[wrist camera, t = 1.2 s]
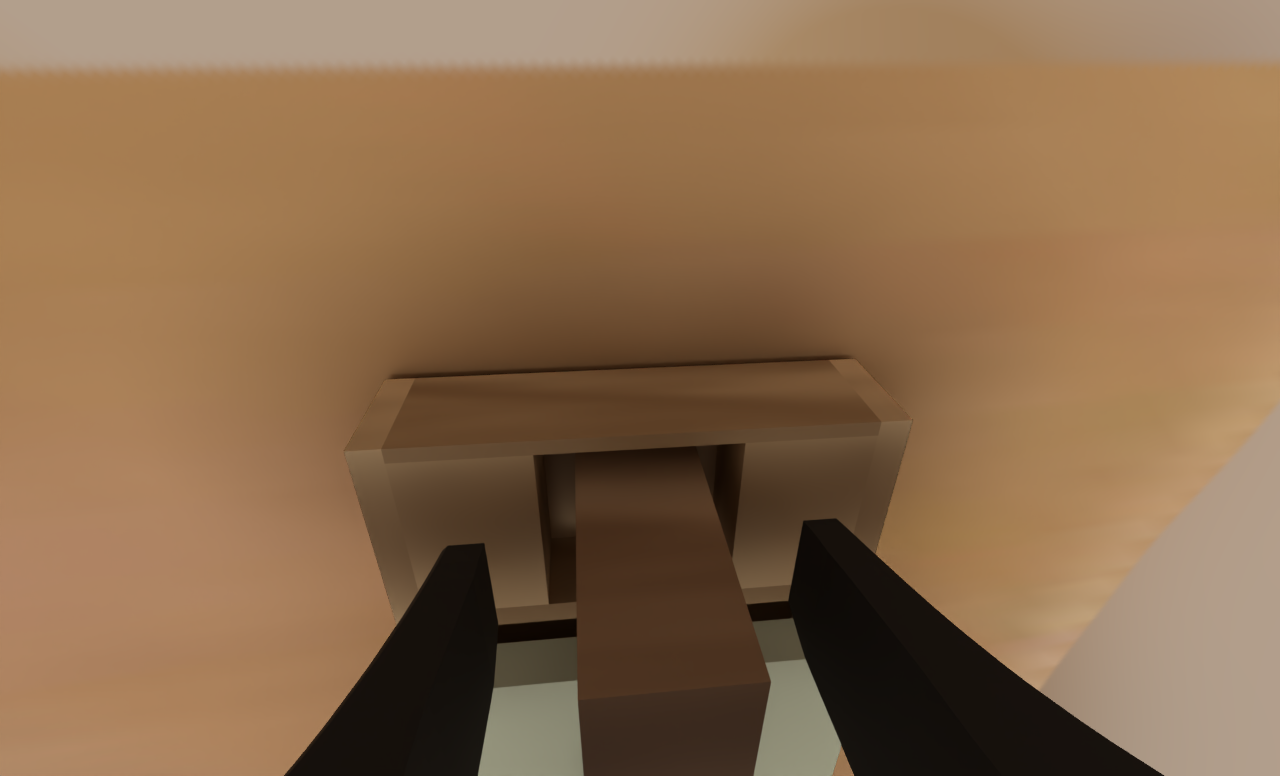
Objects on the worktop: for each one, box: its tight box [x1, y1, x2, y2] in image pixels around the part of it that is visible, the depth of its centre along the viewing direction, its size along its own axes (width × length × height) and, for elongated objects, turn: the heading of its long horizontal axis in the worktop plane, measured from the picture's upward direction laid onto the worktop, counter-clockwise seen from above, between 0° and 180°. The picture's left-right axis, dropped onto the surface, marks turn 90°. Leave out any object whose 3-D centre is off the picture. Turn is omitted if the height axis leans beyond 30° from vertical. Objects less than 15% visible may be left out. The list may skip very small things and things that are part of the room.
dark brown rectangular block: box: [575, 446, 771, 776], centre depth 10 cm, size 2×2×6 cm
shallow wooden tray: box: [344, 359, 913, 644], centre depth 16 cm, size 20×10×2 cm, turn 0°
